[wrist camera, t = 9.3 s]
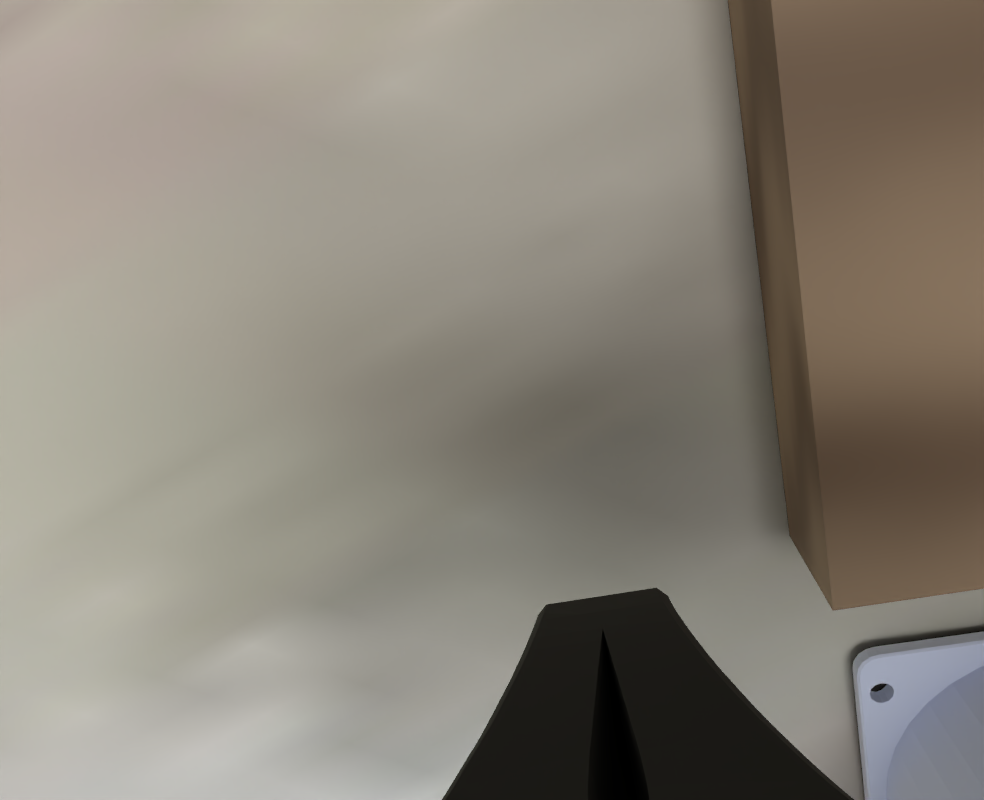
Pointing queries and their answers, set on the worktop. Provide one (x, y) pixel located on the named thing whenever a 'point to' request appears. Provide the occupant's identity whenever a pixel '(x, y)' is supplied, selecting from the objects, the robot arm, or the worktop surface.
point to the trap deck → (872, 282)
